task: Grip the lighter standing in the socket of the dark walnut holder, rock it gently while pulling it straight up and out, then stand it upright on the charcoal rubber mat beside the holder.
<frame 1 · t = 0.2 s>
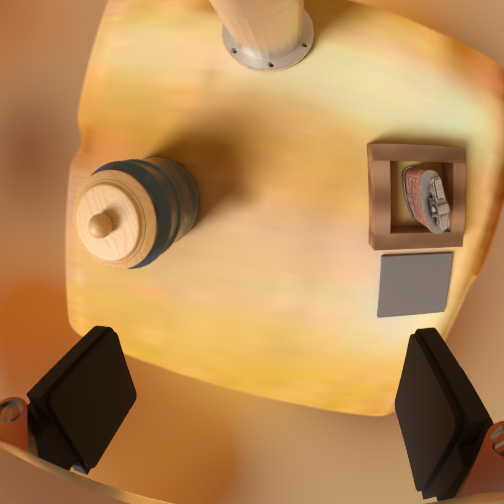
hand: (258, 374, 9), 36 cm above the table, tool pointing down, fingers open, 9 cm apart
charcoal mat: (415, 284, 45), on the table
lighter: (413, 193, 41), resting in walnut holder
walnut holder: (414, 193, 41), on the table
canister: (160, 199, 46), on the table
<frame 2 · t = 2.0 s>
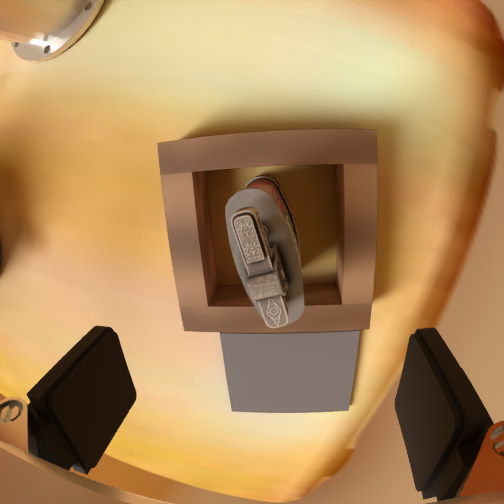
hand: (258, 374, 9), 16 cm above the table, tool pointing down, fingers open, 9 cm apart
charcoal mat: (290, 373, 28), on the table
lighter: (273, 226, 24), resting in walnut holder
walnut holder: (273, 227, 24), on the table
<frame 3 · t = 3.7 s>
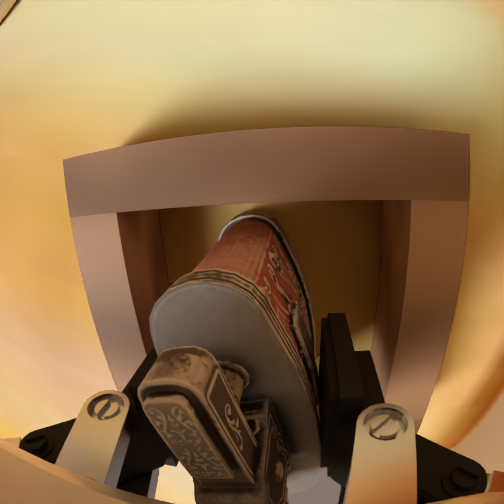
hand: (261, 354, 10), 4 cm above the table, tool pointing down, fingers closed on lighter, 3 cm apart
charcoal mat: (292, 472, 18), on the table
lighter: (272, 296, 14), resting in walnut holder, touching gripper
walnut holder: (272, 298, 14), on the table
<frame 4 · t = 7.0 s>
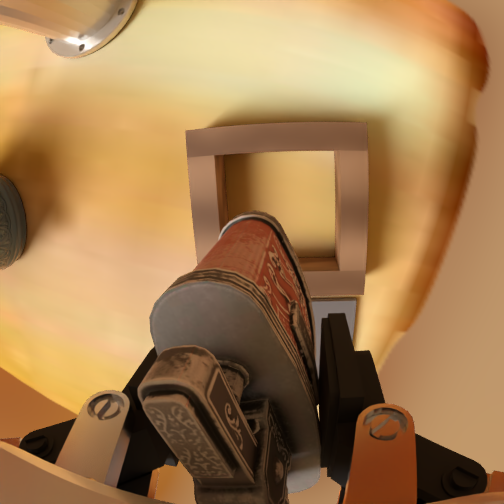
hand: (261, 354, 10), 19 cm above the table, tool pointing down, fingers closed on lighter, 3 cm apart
charcoal mat: (294, 342, 32), on the table
lighter: (272, 296, 14), point 15 cm above the table, touching gripper
walnut holder: (281, 206, 28), on the table
canister: (1, 218, 33), on the table
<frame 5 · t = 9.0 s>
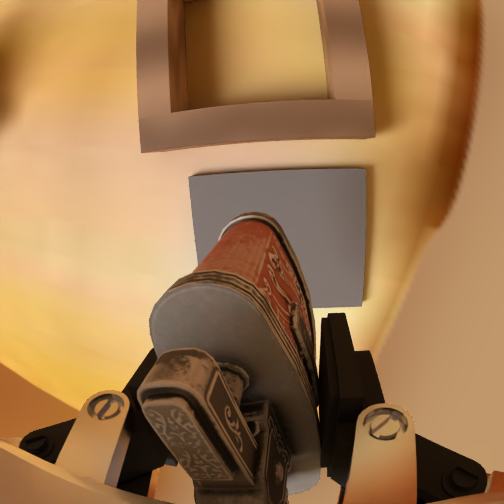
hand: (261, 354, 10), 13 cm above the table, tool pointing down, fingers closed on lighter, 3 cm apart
charcoal mat: (280, 241, 23), on the table
lighter: (272, 297, 14), point 9 cm above the table, touching gripper
walnut holder: (252, 46, 19), on the table
when the fingers open (6 cm above the table, at t = 10.6 s): lighter stays where it is, resting on charcoal mat.
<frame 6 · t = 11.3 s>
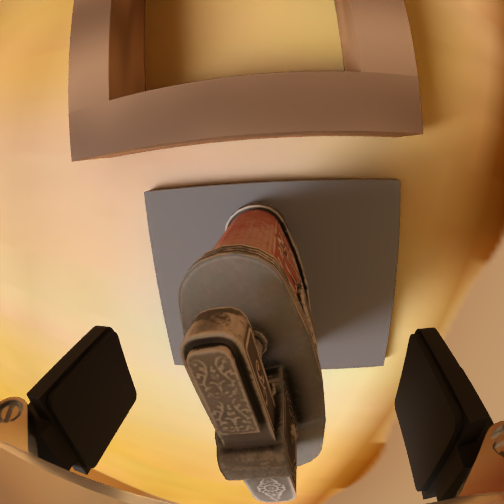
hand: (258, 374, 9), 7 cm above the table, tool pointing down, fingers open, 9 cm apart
charcoal mat: (274, 283, 16), on the table
lighter: (271, 283, 15), resting on charcoal mat
walnut holder: (235, 7, 12), on the table
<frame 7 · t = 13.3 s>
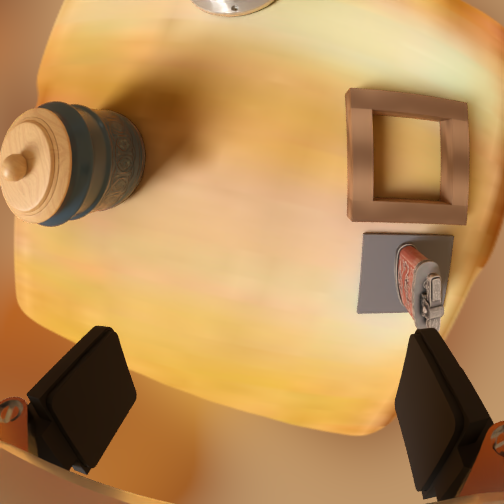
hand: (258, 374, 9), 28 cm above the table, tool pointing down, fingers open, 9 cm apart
charcoal mat: (406, 273, 36), on the table
lighter: (406, 273, 36), resting on charcoal mat
walnut holder: (405, 157, 32), on the table
canister: (106, 159, 38), on the table
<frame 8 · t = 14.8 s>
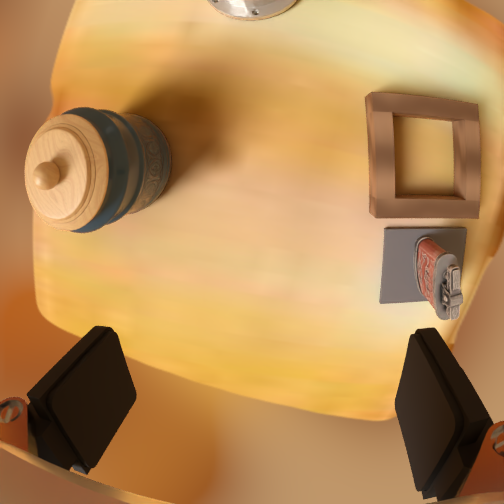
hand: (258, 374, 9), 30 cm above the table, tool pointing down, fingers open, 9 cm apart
charcoal mat: (424, 265, 38), on the table
lighter: (424, 264, 37), resting on charcoal mat
walnut holder: (421, 156, 34), on the table
canister: (130, 163, 39), on the table
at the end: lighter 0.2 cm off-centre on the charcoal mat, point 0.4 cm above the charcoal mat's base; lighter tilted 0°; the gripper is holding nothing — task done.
